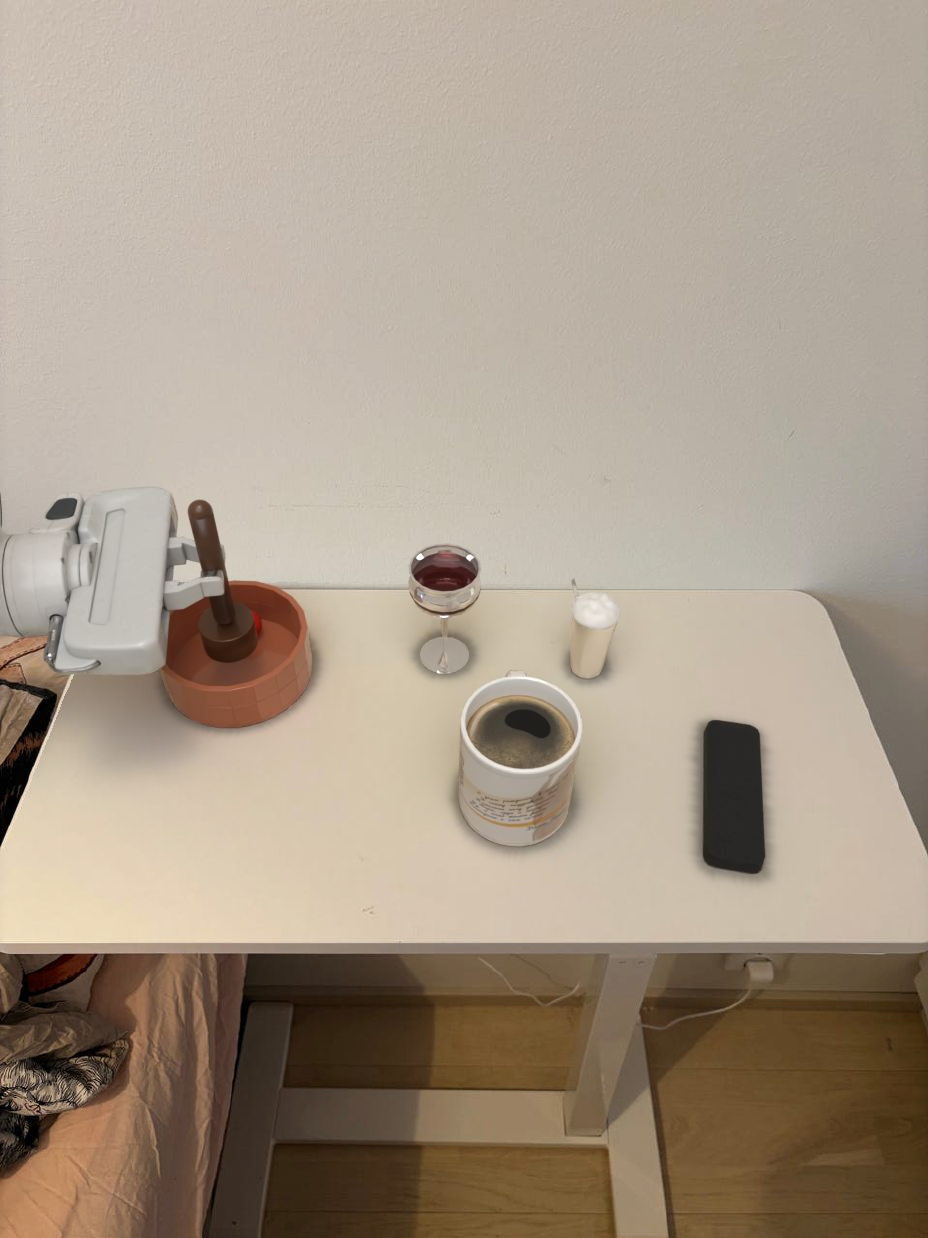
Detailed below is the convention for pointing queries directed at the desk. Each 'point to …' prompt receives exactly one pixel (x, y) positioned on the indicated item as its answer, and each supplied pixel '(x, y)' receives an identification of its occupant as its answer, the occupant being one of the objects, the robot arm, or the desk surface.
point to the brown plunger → (220, 596)
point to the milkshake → (591, 631)
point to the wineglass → (444, 598)
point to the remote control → (733, 797)
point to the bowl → (239, 662)
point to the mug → (518, 759)
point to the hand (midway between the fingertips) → (224, 568)
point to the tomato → (257, 621)
